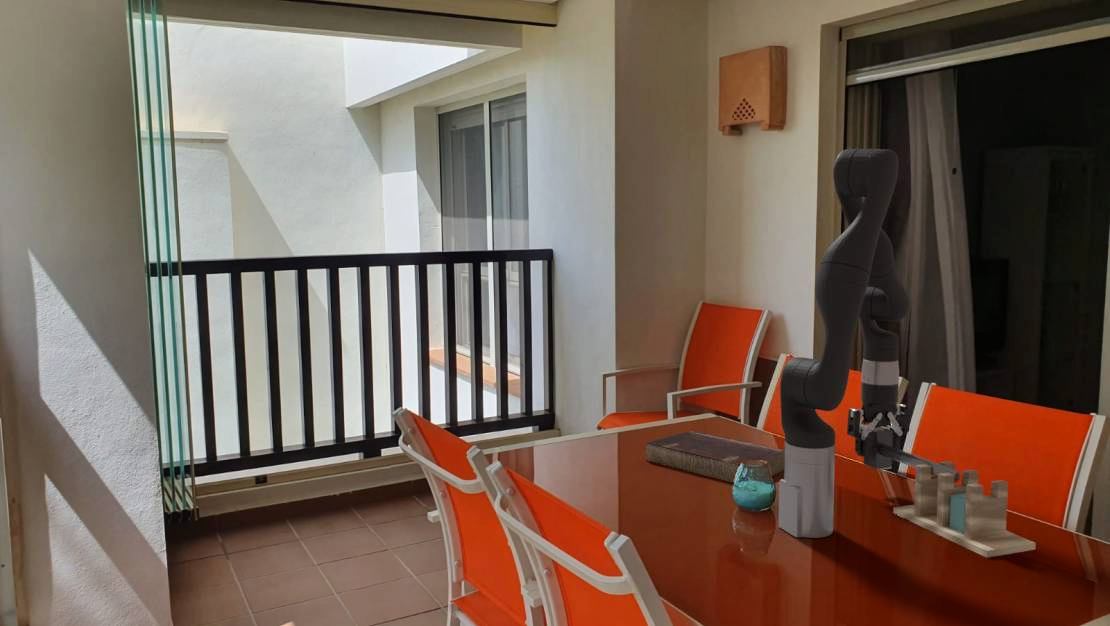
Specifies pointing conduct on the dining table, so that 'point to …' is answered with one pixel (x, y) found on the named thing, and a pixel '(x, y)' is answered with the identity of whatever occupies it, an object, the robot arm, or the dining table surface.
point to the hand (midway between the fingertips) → (877, 453)
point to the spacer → (958, 512)
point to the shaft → (896, 454)
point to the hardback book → (711, 454)
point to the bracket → (980, 514)
